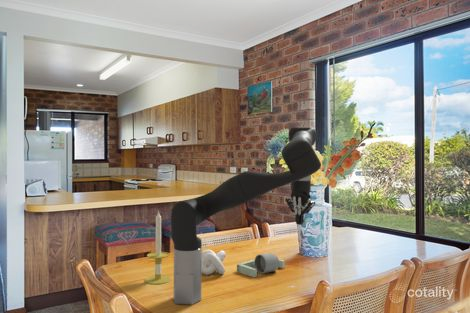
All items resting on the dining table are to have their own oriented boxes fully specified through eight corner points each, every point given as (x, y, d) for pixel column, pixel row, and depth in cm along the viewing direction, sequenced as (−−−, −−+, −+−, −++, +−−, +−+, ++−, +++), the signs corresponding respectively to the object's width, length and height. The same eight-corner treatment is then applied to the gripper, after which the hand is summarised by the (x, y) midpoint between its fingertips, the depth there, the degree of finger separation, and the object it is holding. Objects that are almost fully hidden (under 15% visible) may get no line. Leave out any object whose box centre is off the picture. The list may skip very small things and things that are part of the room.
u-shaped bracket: (284, 267, 157) (284, 260, 157) (254, 277, 144) (254, 269, 144) (267, 262, 164) (267, 256, 164) (236, 271, 151) (236, 264, 151)
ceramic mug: (280, 272, 151) (280, 253, 151) (265, 275, 146) (265, 256, 146) (263, 266, 159) (263, 248, 159) (249, 269, 154) (249, 251, 155)
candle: (154, 274, 147) (154, 207, 147) (176, 277, 143) (176, 209, 143) (139, 282, 137) (139, 211, 137) (162, 285, 134) (162, 212, 134)
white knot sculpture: (233, 275, 147) (233, 252, 147) (206, 279, 141) (206, 256, 141) (220, 267, 157) (220, 246, 157) (195, 271, 151) (195, 250, 151)
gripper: (321, 180, 136) (319, 226, 136) (293, 177, 146) (292, 220, 146) (309, 180, 131) (307, 228, 131) (281, 178, 141) (279, 222, 141)
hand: (299, 224), depth 139 cm, fingers closed
